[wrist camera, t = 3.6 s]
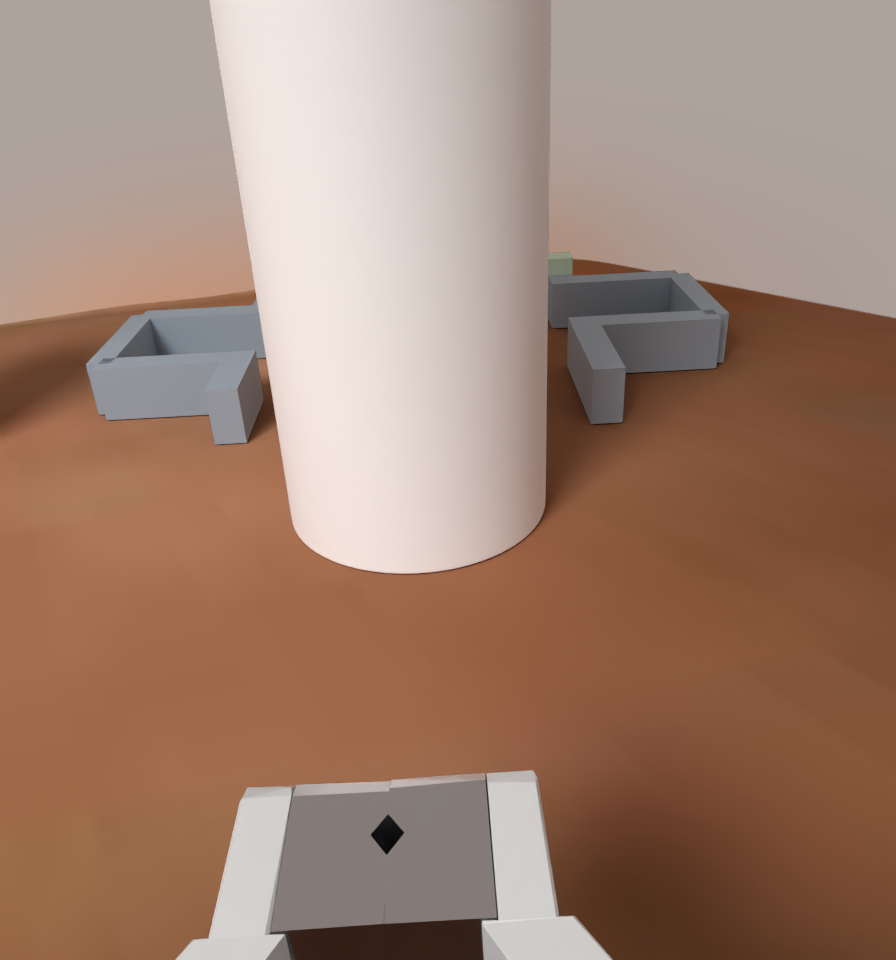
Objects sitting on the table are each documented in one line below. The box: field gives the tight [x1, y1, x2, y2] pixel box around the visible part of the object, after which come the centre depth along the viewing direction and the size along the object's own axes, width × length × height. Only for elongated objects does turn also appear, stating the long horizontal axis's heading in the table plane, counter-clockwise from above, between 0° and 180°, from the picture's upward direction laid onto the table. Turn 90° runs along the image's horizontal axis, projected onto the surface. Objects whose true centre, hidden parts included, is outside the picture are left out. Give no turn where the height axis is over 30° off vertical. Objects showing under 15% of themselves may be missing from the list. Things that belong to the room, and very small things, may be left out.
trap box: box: [86, 252, 729, 444], centre depth 37 cm, size 26×14×3 cm, turn 92°
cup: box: [209, 0, 551, 574], centre depth 24 cm, size 8×8×16 cm
